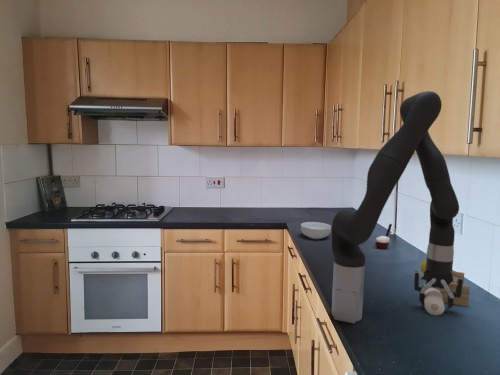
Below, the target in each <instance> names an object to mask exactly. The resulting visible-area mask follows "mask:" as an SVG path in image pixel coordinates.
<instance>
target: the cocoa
mask: <svg viewBox="0 0 500 375" xmlns="http://www.w3.org/2000/svg"><path fill="white" fill-rule="evenodd" d="M388 224H389V225H388V227H387V231H386V233H385V235H380V236H377V237H376V239H375V243H374V244H375V247H376V248H378V249H381V250H387V249H388V247H389V245H390V241H391V240H390V239H391V238H390V237H389V235H390V233H391V228H392V226H393V224H392V223H388Z"/></svg>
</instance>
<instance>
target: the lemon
mask: <svg viewBox="0 0 500 375" xmlns="http://www.w3.org/2000/svg"><path fill="white" fill-rule="evenodd" d="M425 270H426V259H424V260H422V263H421V264H420V272H421V273H424V272H425Z"/></svg>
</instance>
